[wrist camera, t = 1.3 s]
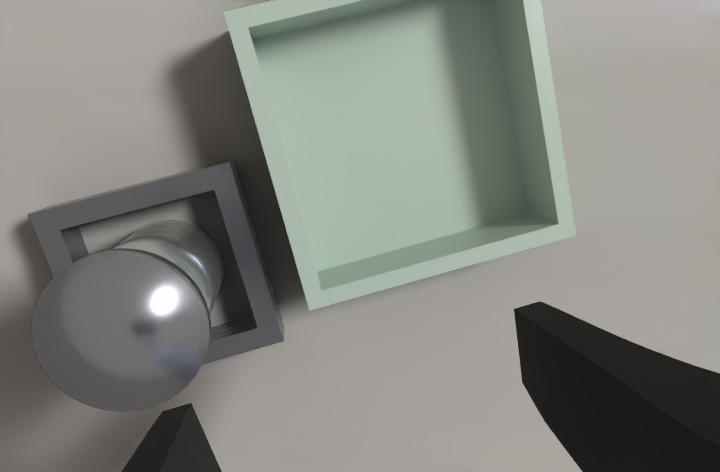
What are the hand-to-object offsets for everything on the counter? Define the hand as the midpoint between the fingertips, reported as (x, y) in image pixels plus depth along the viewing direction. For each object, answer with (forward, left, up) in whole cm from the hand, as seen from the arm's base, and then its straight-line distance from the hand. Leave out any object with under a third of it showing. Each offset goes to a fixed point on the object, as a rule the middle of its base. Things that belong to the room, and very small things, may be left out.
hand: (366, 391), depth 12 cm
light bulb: (+2, +6, -11) cm, 12 cm away
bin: (+5, -4, -11) cm, 12 cm away
